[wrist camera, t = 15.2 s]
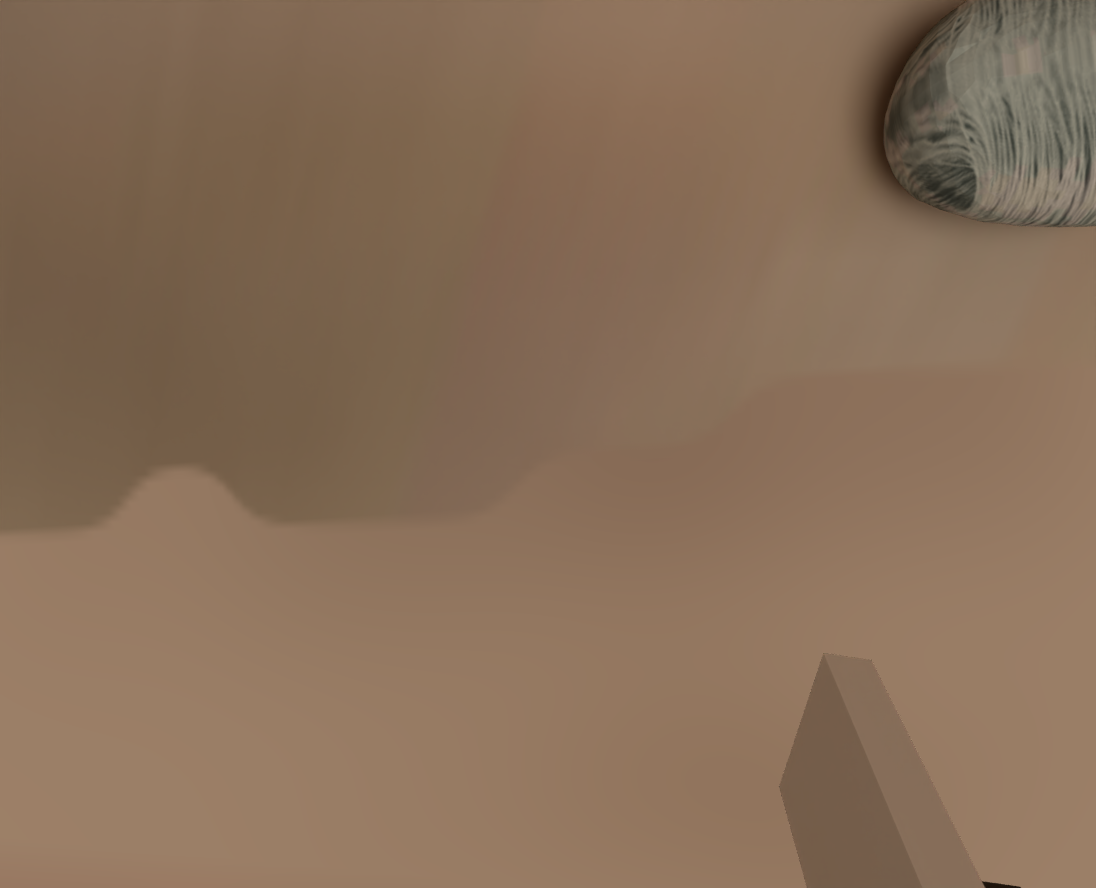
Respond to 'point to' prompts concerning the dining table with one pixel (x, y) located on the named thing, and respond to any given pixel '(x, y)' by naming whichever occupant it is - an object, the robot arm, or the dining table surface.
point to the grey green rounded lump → (1001, 114)
